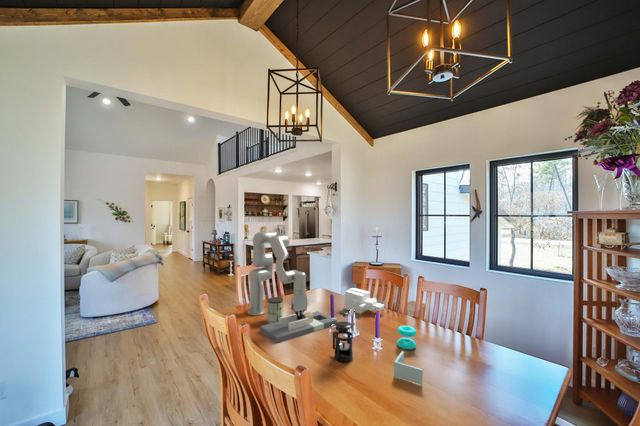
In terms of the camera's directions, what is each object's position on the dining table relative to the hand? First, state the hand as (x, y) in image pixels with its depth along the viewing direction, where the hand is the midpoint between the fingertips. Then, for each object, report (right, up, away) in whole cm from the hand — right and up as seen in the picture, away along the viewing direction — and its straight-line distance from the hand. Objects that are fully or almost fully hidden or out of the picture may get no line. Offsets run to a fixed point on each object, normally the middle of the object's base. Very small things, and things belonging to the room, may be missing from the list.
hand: (299, 321), depth 179 cm
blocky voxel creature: (+46, -6, +33) cm, 57 cm away
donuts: (+61, -6, -23) cm, 65 cm away
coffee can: (-17, -4, +12) cm, 22 cm away
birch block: (+4, -2, +3) cm, 6 cm away
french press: (+24, -5, -36) cm, 44 cm away
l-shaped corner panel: (+54, -6, -51) cm, 74 cm away
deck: (0, -4, +1) cm, 4 cm away
